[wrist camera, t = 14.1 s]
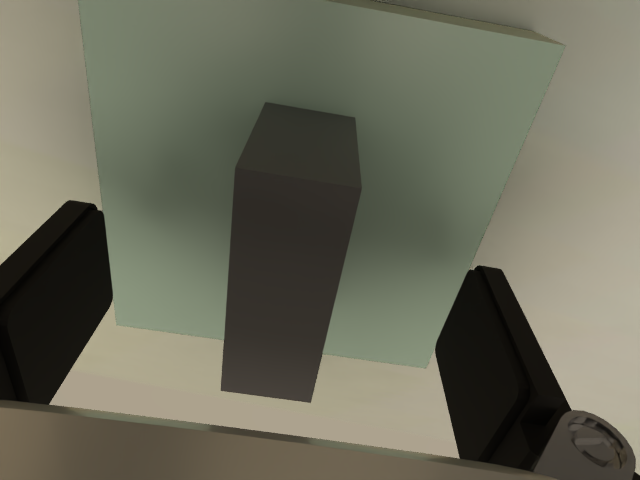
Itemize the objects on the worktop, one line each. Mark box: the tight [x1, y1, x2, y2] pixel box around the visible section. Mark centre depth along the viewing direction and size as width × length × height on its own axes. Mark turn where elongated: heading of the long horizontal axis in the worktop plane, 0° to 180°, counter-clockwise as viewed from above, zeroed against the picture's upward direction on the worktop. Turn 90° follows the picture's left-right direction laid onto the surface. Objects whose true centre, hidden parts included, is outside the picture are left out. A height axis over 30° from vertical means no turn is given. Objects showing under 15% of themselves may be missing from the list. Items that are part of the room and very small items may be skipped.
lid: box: [78, 0, 565, 403], centre depth 14 cm, size 13×13×7 cm
